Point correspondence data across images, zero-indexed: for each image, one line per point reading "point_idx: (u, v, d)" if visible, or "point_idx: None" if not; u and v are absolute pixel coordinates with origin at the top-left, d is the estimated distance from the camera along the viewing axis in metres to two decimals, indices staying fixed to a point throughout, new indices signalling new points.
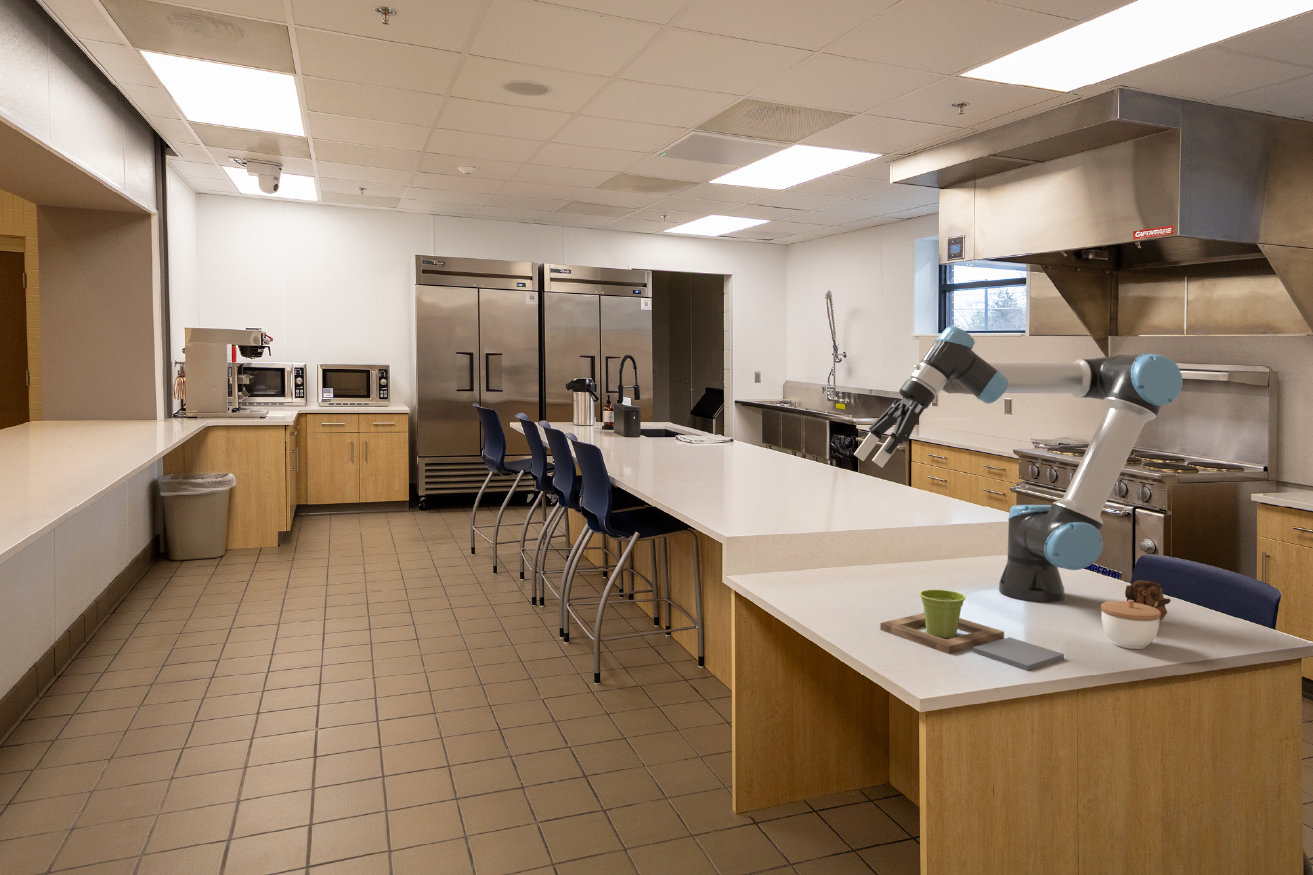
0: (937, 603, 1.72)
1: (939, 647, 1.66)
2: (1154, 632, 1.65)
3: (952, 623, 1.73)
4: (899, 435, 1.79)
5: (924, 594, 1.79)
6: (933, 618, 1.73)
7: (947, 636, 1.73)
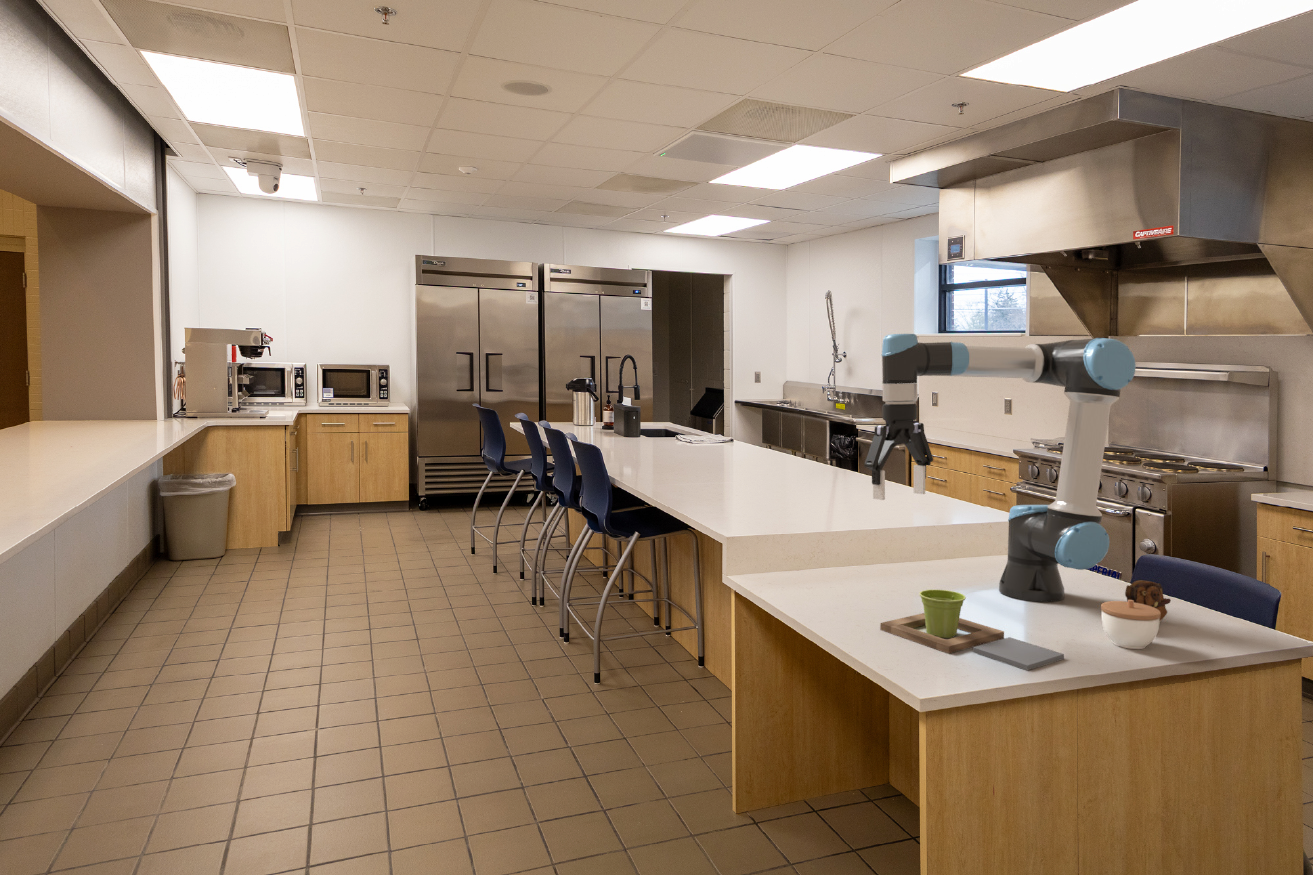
0: (937, 603, 1.72)
1: (939, 647, 1.66)
2: (1154, 632, 1.65)
3: (952, 623, 1.73)
4: (865, 466, 1.79)
5: (924, 594, 1.79)
6: (933, 618, 1.73)
7: (947, 636, 1.73)
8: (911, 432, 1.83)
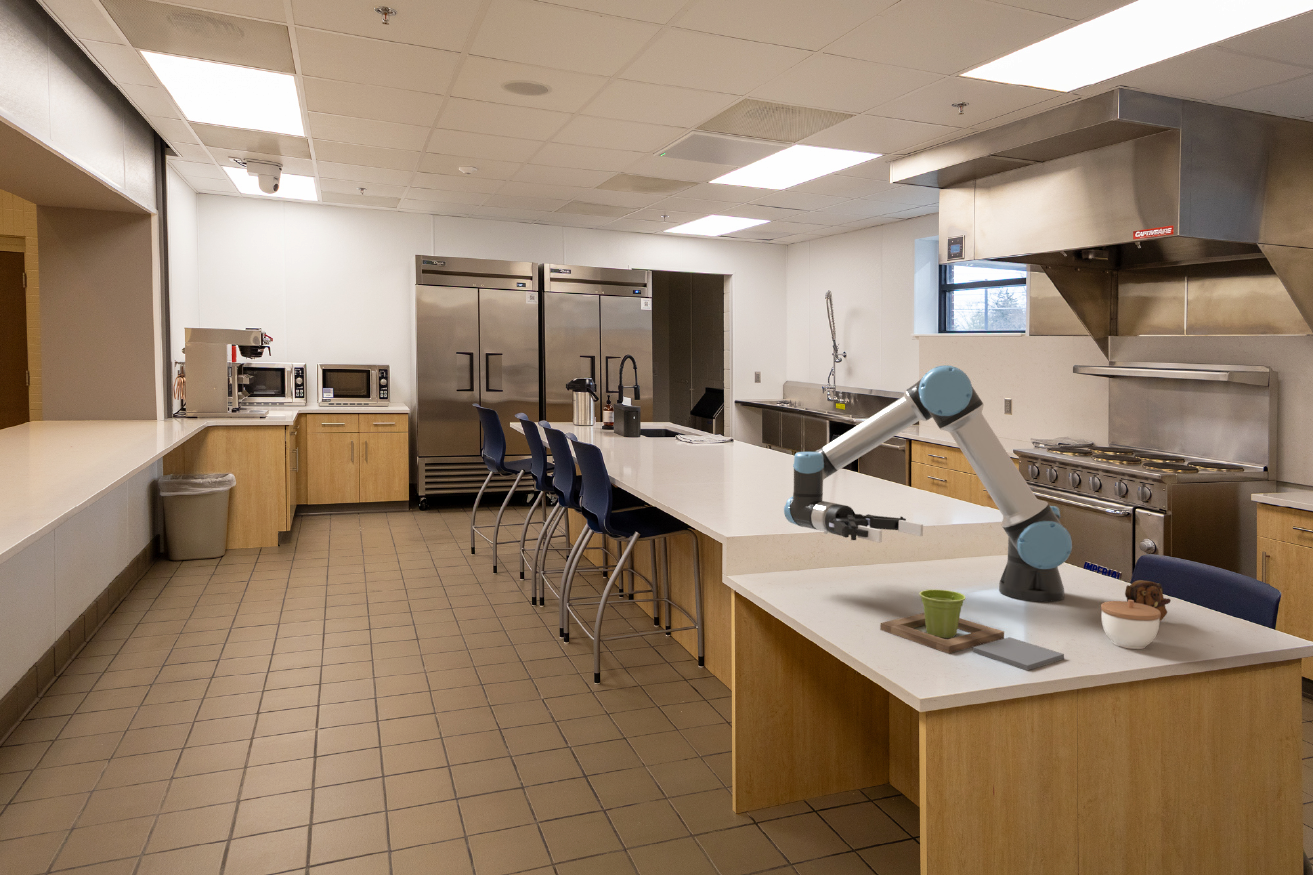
0: (937, 603, 1.72)
1: (939, 647, 1.66)
2: (1154, 632, 1.65)
3: (952, 623, 1.73)
4: (845, 535, 1.85)
5: (924, 594, 1.78)
6: (933, 618, 1.73)
7: (947, 636, 1.73)
8: (859, 514, 1.97)
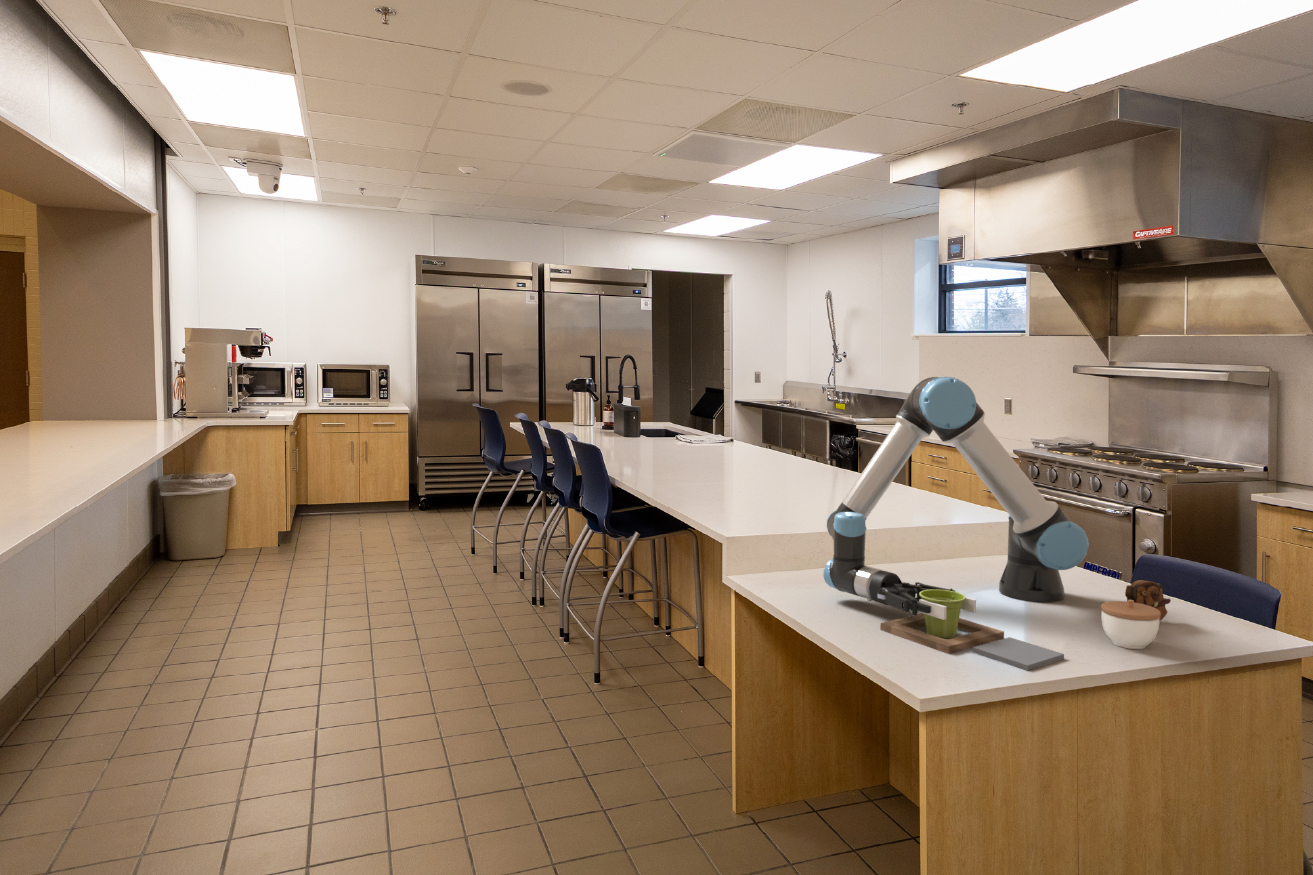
0: (937, 603, 1.72)
1: (939, 647, 1.66)
2: (1154, 632, 1.65)
3: (952, 623, 1.72)
4: (906, 610, 1.74)
5: (924, 594, 1.78)
6: (933, 618, 1.73)
7: (947, 636, 1.73)
8: (906, 583, 1.86)
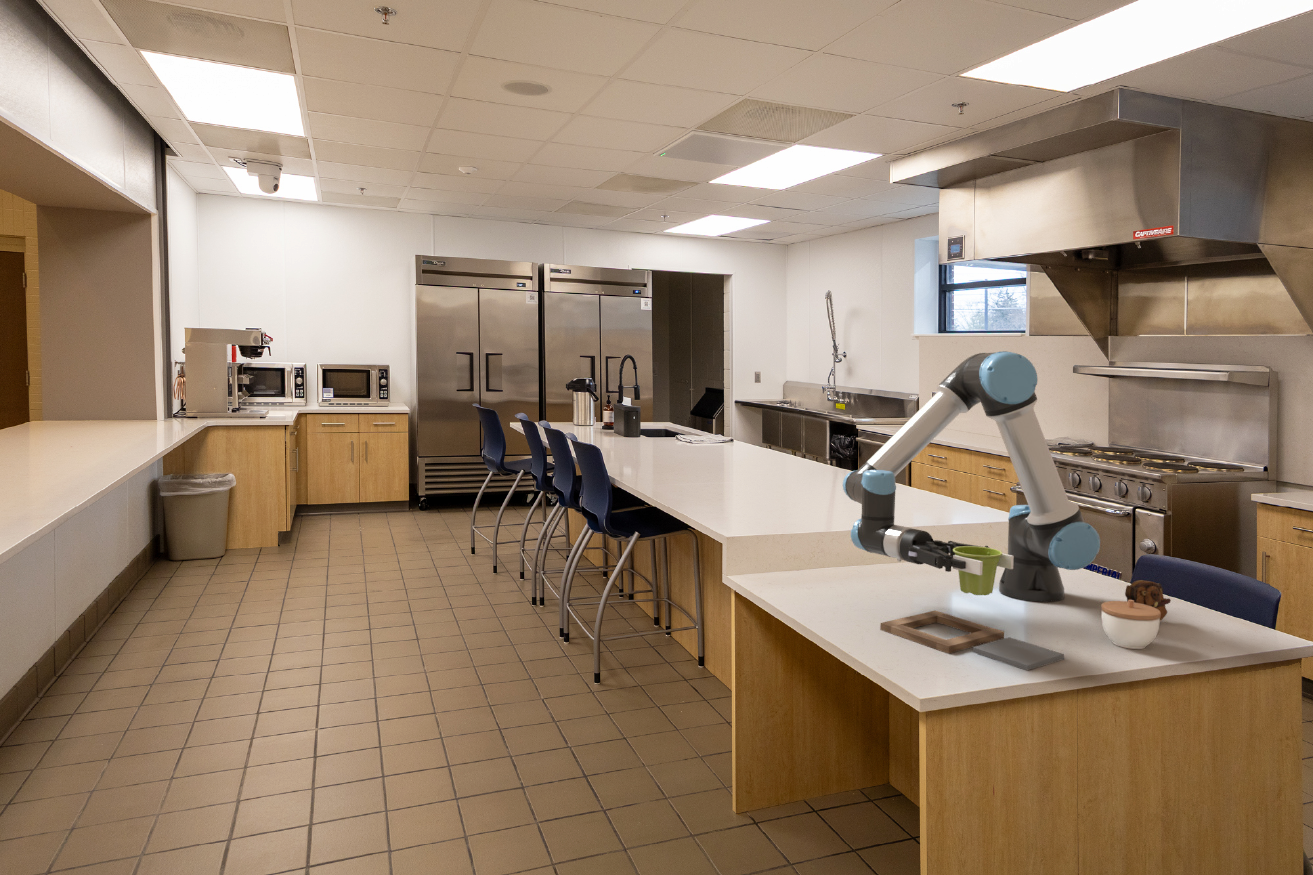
0: (972, 558, 1.64)
1: (939, 647, 1.66)
2: (1154, 632, 1.65)
3: (988, 580, 1.64)
4: (939, 566, 1.66)
5: (958, 551, 1.70)
6: (968, 575, 1.65)
7: (982, 593, 1.65)
8: (939, 541, 1.77)
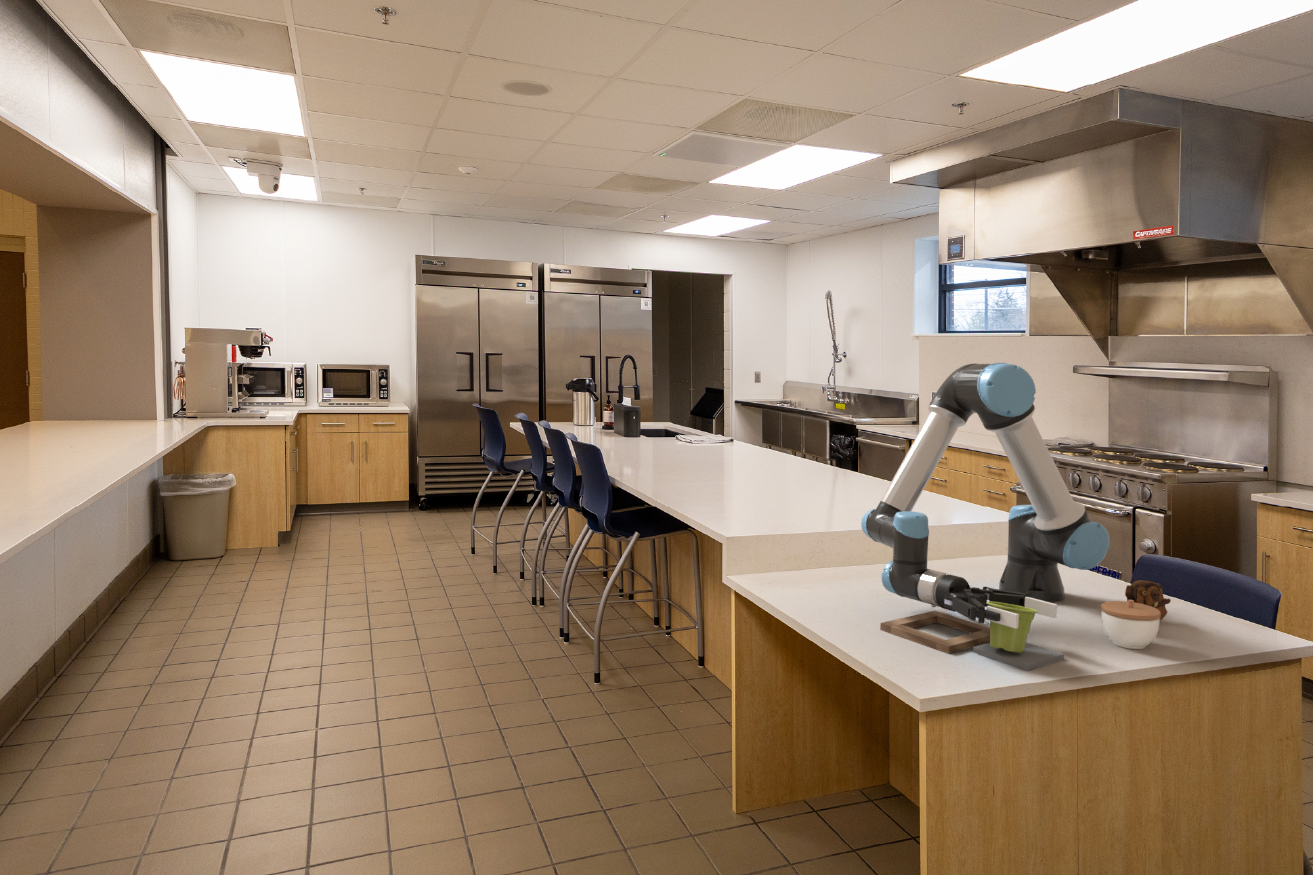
0: None
1: (939, 647, 1.66)
2: (1154, 632, 1.65)
3: (1021, 636, 1.59)
4: (972, 618, 1.60)
5: None
6: (1001, 629, 1.59)
7: (1014, 650, 1.59)
8: (976, 588, 1.72)
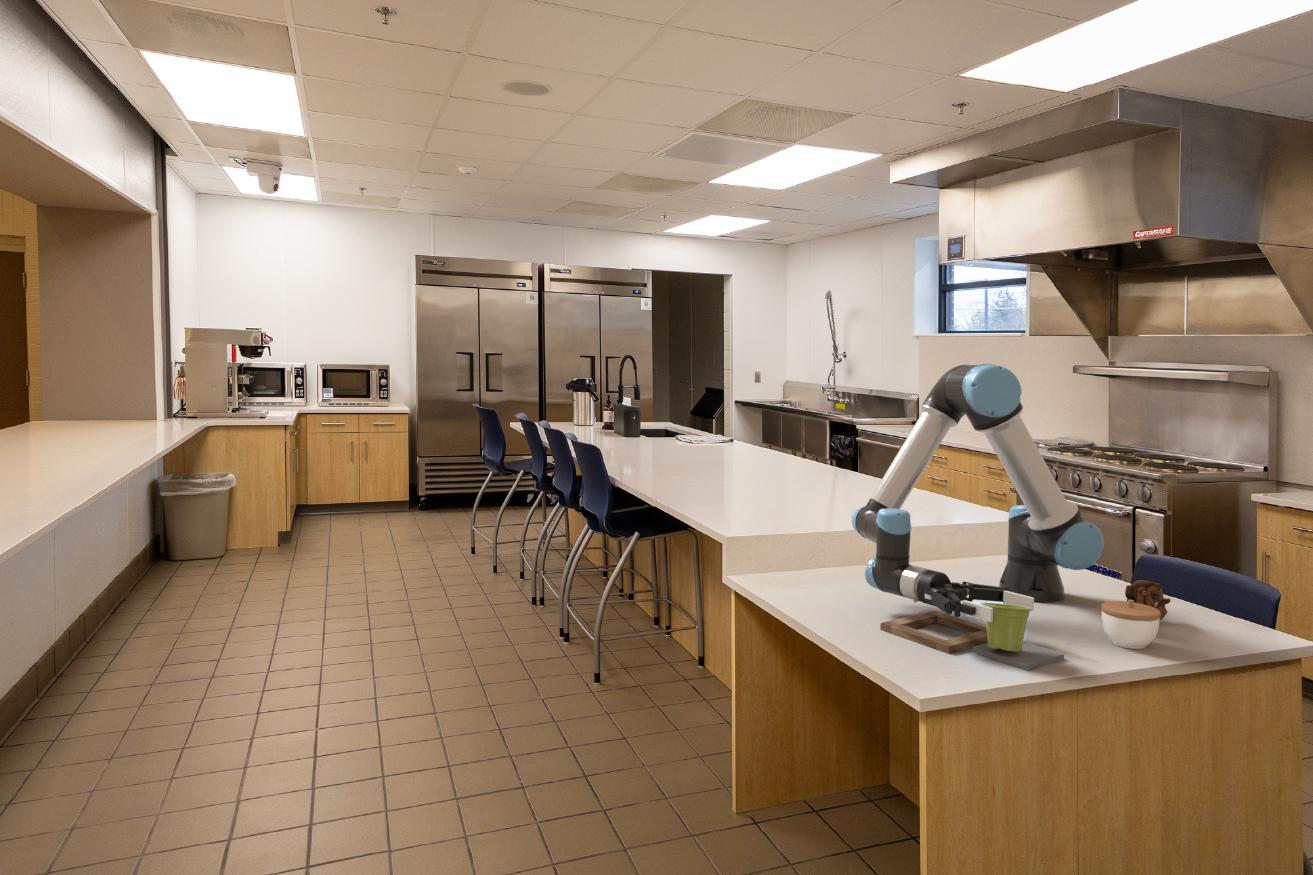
0: (1002, 610, 1.59)
1: (939, 647, 1.66)
2: (1154, 632, 1.65)
3: (1018, 635, 1.59)
4: (948, 612, 1.64)
5: None
6: (997, 629, 1.60)
7: (1012, 649, 1.59)
8: (957, 583, 1.76)
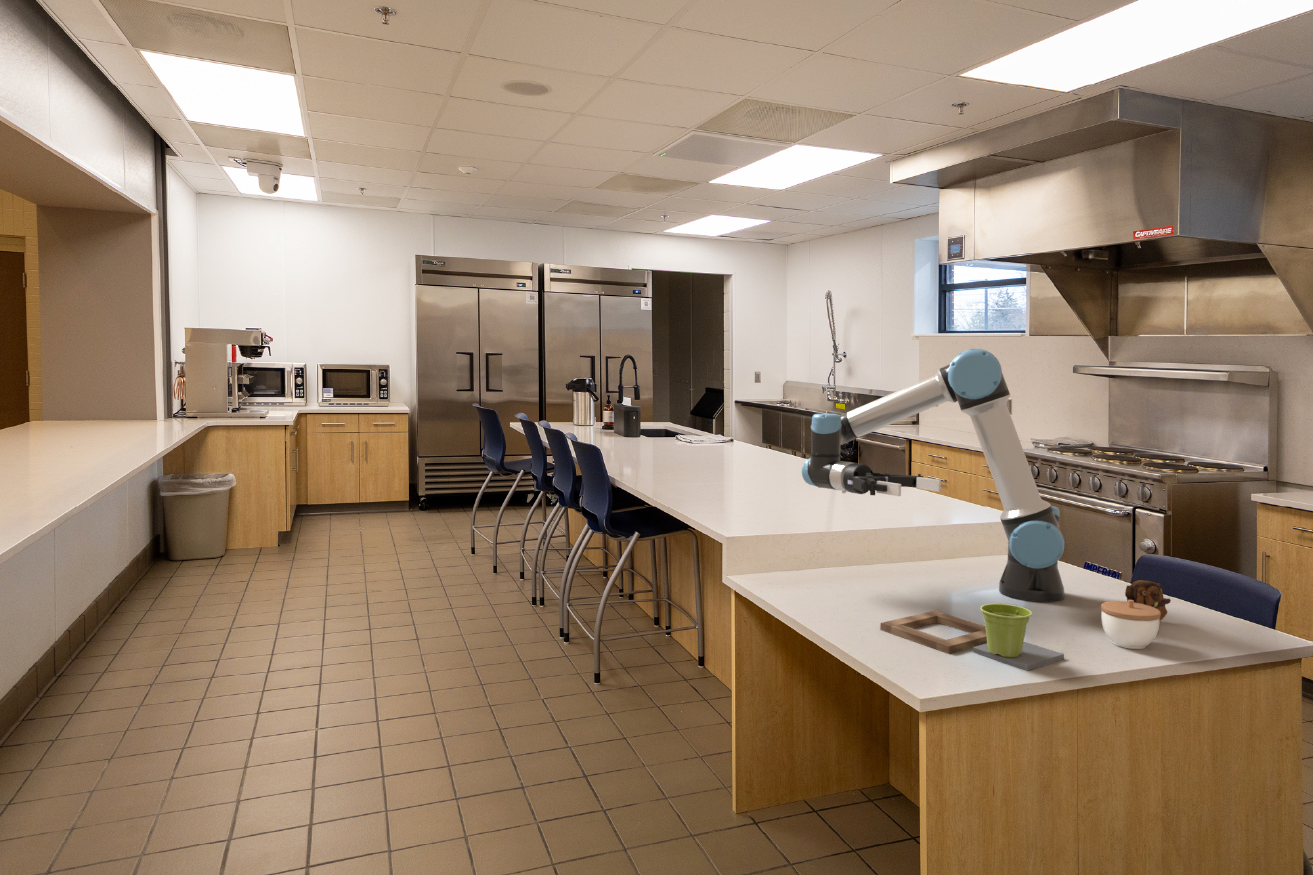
0: (1000, 619, 1.57)
1: (939, 647, 1.66)
2: (1154, 632, 1.65)
3: (1017, 641, 1.58)
4: (864, 490, 1.88)
5: (985, 609, 1.64)
6: (996, 636, 1.59)
7: (1011, 655, 1.58)
8: (877, 472, 2.00)
